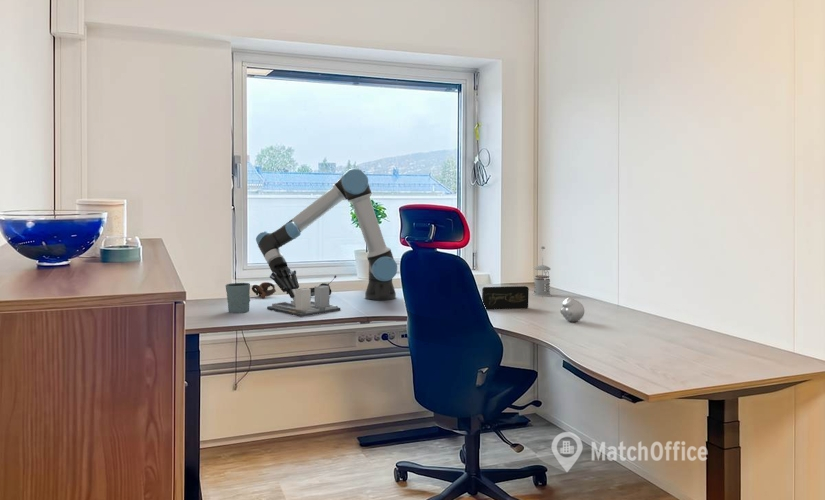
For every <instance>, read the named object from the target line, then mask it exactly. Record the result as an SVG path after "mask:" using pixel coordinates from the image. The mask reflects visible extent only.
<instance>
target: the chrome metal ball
mask: <svg viewBox="0 0 825 500" xmlns="http://www.w3.org/2000/svg"><path fill="white" fill-rule="evenodd" d="M561 304H562V307H561V308H560V314H561V315H562V317H563V318H564V319H565V320H566V321H568V322H571V323H576V322H578V321H580V320H582V318H584V316H585V307H584V305H583V303H582V302H580V301H579V300H577V299H575V298H574V297H572V296H568V297H567V298H565V299H564V300H563V302H562V303H561Z"/></svg>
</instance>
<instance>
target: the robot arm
mask: <svg viewBox="0 0 825 500" xmlns="http://www.w3.org/2000/svg"><path fill="white" fill-rule="evenodd" d="M371 195H372V189H371V188H370V184H369V177H368V175H367V174H366V173H365V171H364V170H362V169H360V168H356V167H354V168H350V169H347V170H346V171H345V172H344V173H343V174H342V175H341V177H340V178H339V179H338V180H337V181H336V182H335V183H333V185H332V187H331V188H330V189H329V190H328V191H326V192H324V193H323V194H322V195H321V196H320V197H318V198H317V199H315V200H314V201H313V202H312V203H310V204H309V205H308V206H307V207H305V208H304V209H303V210H301V211H300V212H298V214H296V215H295V216H293V218H291V219H290V220H289V221H287V222H286V223H285V224H283V225H282V226H281V227H280V228H278V229H276V230H274V231H272V232H270V231H264V232H260V233H258V234H257V235H256V238H255V241H256V244H257V247H258V248H259V250H260V252H261V253H262V255H263V257H264V260H265V262H266V263H267V265H268V267H269V269H270V270H271V274H270V275H269V278H270V279H271V280H273V281H274V283H275V284H276V285H277V286H278V288H279V289H280V290H281V291H282V292H283V293H286V294H287V295H288V296H289V298H291V299H292V301H294V302H295V304H296V300H295V289H300V284H299V281H298V277H297V271H296V270H295V269H294V270H291V269H290V268H289V267H288V263H287V261H286V259H285V257H284V255H283V253H282V252H281V250H280V248H281V247H283V246H285V245H287V244H288V243H290V242H292V241H293V240H296V239H297V238H298V237H299V236H301V233H302V232H303V231H304V230H305V229H307V228H308V227H309V226H311V225H312V224H313V223H315V222H316V221H317V220H318V219H320V218H321V217H323V216H324V215H325V214H326V213H327V212H329V211H331V209H333V208H334V207H335V206H337V205H338V204H339V203H341V202H342V201H347V202H348V203H350V204H351V205H352V207H353V210H354V213H355V216H356V219H357V222H358V225H359V228H360V231H361V234H362V237H363V240H364V243H365V245H366V248H367V251H368V253H367V256H366V258H367V262H368V283H367V286H366V290H365V293H364V294H365V295H364V298H365V299H367V300H374V301H385V300H387V301H388V300H394V299H396V297H397V292H396V290H395V287H394V283H393V279H394V278H395V276H396V274H397V273H398V264H397V262H396V260H395V259H394V255H393V252H392V249H391V248H390V247H388V246H387V245H386V242H385V239H384V237H383V236H384V235H383V233H382V230H381V227H380V224H379V221H378V219H377V216H376V215H377V214H376V213H375V209H374V207H373V203H372V201H371Z"/></svg>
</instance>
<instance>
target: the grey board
mask: <svg viewBox="0 0 825 500" xmlns="http://www.w3.org/2000/svg"><path fill="white" fill-rule="evenodd" d="M266 309H267V310H268V311H273V312H278V313H281V314H286V315H290V316H294V317H297V318H303V317H309V316H315V315H323V314H327V313H334V312H339V311H341V307H338V305H333V304H329V307H325V308H322V307H317V306H315V301H313V300H311V310H306V311H303V310H298V309H296V304H295V302H294V301H293V300H290V302H287V301H281V302H275V303H272V304H271V305H270V306H267V307H266Z"/></svg>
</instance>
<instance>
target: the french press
mask: <svg viewBox="0 0 825 500" xmlns="http://www.w3.org/2000/svg"><path fill="white" fill-rule="evenodd" d="M540 249H542V250H544V249H546V247H545V246H543V245H542V246H540ZM541 260H542V264H541V265H537V266H535V267H534V270H536V271H541V274H540V275H535V278H534V289H533V290H534V293H533V294H532V296H534V297H542V298H543V297H544V298H546V297H552V294H551V288H550V287H551V285H550V284H551V279H550V274H549V271H551V267H549V266H547V265H544V264H543V263H544V258H542V259H541ZM543 274H545V275H543ZM547 274H548V275H547Z"/></svg>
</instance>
